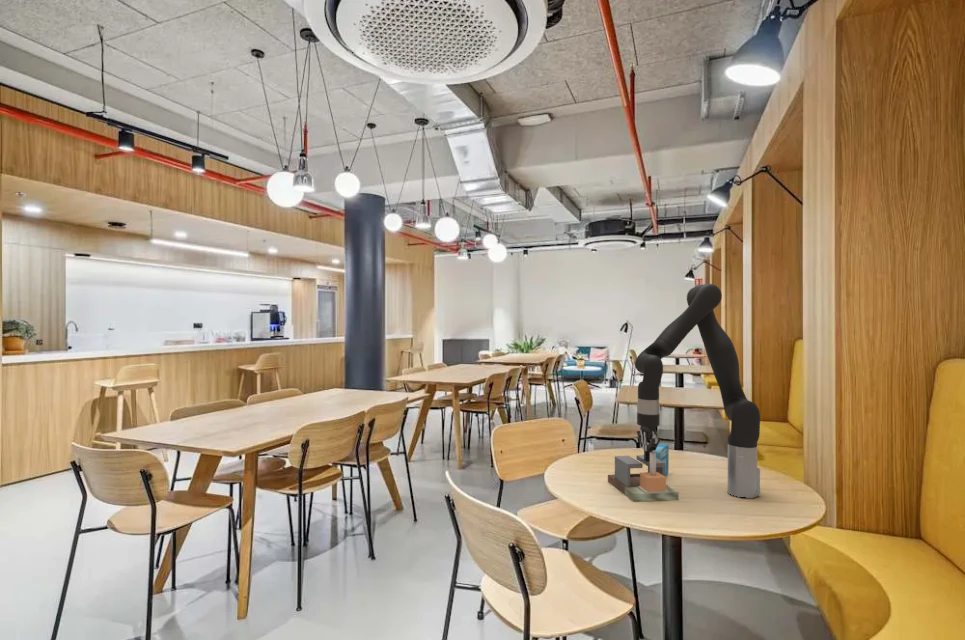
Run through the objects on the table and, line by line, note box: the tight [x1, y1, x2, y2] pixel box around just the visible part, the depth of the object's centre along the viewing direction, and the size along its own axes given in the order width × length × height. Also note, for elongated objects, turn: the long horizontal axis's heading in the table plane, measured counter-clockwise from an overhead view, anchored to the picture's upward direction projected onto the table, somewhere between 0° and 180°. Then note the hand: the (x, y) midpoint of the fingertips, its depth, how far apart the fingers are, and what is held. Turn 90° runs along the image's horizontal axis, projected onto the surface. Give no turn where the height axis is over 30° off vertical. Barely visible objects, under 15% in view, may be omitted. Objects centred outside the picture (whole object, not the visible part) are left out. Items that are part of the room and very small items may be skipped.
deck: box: [607, 473, 680, 503], centre depth 179 cm, size 16×22×2 cm
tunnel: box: [614, 454, 665, 487], centre depth 181 cm, size 14×11×8 cm
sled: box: [638, 452, 668, 494], centre depth 171 cm, size 8×6×13 cm
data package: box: [652, 443, 670, 478], centre depth 195 cm, size 12×4×12 cm, turn 146°
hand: (647, 461), depth 175 cm, fingers closed
